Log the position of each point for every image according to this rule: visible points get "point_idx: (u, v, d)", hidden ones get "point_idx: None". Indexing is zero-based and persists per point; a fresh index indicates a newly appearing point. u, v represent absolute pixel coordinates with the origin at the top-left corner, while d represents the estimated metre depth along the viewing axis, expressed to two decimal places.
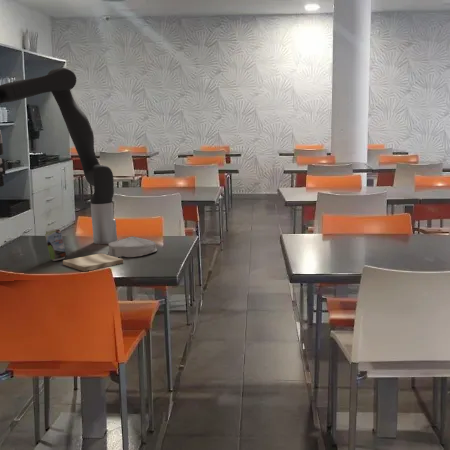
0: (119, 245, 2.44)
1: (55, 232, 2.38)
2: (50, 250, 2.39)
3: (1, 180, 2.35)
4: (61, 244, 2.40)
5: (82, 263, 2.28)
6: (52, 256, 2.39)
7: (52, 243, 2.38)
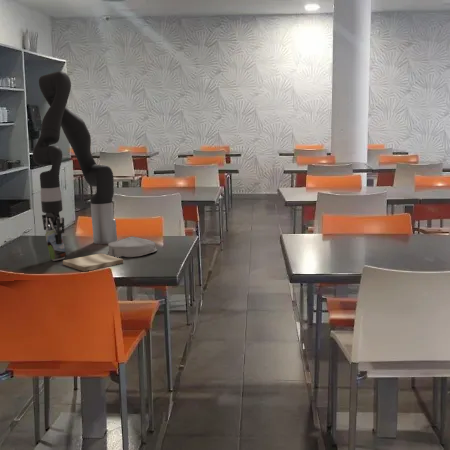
0: (119, 245, 2.44)
1: None
2: (50, 250, 2.39)
3: (59, 238, 2.38)
4: (61, 244, 2.40)
5: (82, 263, 2.28)
6: (52, 256, 2.39)
7: (53, 243, 2.38)
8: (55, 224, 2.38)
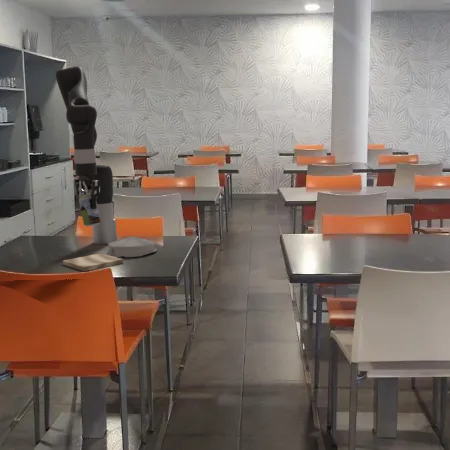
0: (119, 245, 2.44)
1: None
2: (84, 215, 2.27)
3: (94, 202, 2.26)
4: (95, 209, 2.28)
5: (82, 263, 2.28)
6: (86, 222, 2.27)
7: (87, 207, 2.26)
8: (89, 188, 2.26)
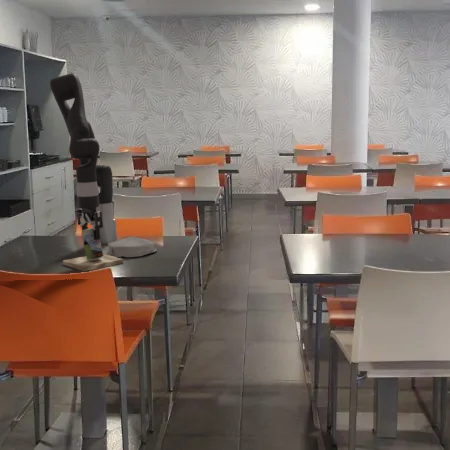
0: (119, 245, 2.44)
1: (92, 231, 2.29)
2: (87, 250, 2.29)
3: (98, 233, 2.27)
4: (98, 243, 2.30)
5: (82, 263, 2.28)
6: (89, 256, 2.29)
7: (89, 242, 2.28)
8: (92, 219, 2.28)
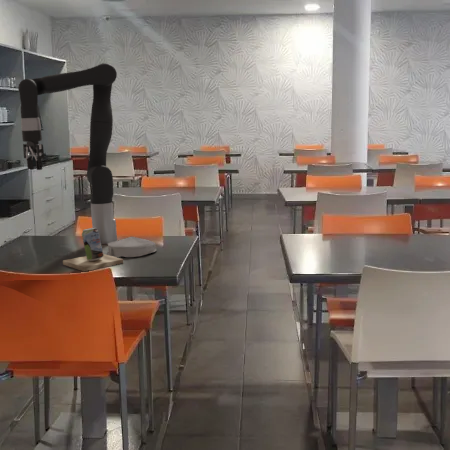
0: (118, 245, 2.44)
1: (92, 231, 2.29)
2: (87, 250, 2.29)
3: (40, 164, 2.56)
4: (98, 244, 2.30)
5: (82, 263, 2.28)
6: (89, 256, 2.29)
7: (90, 242, 2.28)
8: (35, 152, 2.56)
